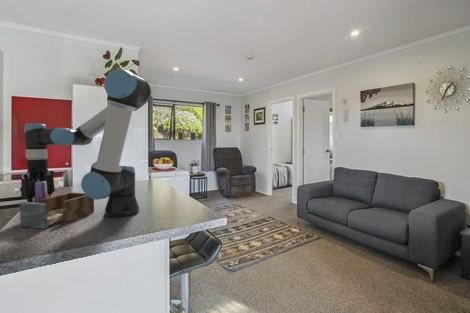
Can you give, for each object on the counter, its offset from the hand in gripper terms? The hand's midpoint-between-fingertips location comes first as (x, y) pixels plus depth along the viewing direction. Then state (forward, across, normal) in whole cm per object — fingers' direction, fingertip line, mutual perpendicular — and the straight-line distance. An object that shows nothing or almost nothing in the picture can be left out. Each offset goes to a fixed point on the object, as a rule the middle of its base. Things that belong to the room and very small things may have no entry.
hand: (39, 210), depth 108 cm
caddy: (+4, -5, +10) cm, 12 cm away
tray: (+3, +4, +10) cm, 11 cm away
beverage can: (+2, 0, 0) cm, 2 cm away
